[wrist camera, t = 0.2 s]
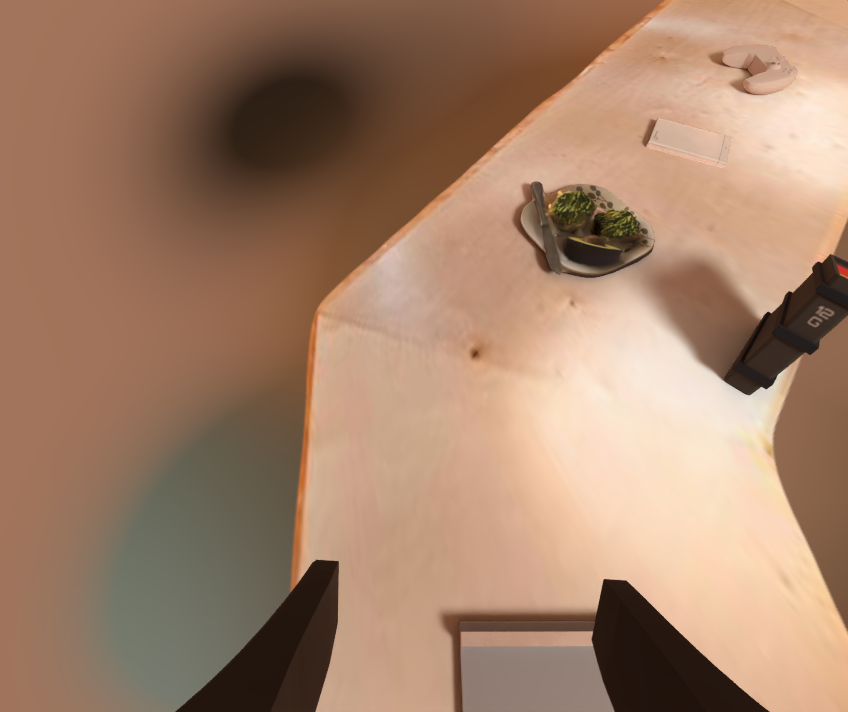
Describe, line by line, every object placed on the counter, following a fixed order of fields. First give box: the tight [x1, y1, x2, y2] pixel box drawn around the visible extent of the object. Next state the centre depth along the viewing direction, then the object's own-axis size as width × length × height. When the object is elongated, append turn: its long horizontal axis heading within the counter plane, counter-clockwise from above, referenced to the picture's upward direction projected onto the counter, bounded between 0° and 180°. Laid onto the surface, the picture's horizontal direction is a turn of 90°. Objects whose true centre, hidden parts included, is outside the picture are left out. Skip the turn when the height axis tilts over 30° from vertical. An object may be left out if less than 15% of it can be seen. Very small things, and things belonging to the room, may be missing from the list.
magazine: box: [725, 254, 848, 395], centre depth 48 cm, size 4×13×15 cm, turn 137°
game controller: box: [721, 45, 797, 95], centre depth 85 cm, size 14×4×10 cm
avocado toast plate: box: [520, 182, 655, 278], centre depth 63 cm, size 19×18×5 cm
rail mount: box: [459, 621, 615, 712], centre depth 35 cm, size 11×14×2 cm
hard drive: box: [646, 118, 732, 168], centre depth 75 cm, size 2×8×12 cm
